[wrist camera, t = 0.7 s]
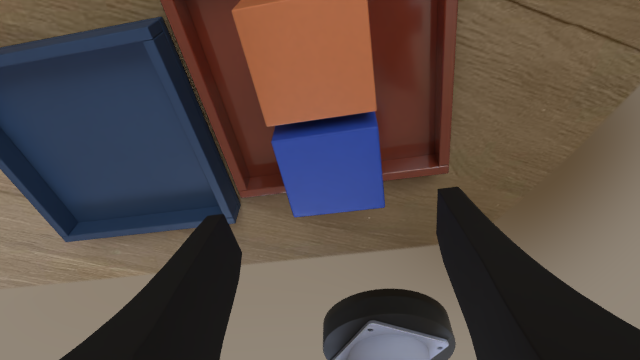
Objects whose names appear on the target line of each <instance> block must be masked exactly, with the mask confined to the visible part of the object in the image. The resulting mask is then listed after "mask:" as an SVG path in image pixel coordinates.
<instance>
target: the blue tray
mask: <svg viewBox="0 0 640 360" xmlns="http://www.w3.org/2000/svg"><path fill="white" fill-rule="evenodd" d="M0 169H1V170H2V171H3V173H4V174H5V175H6V176H7V177H8V178H9V179H10V180H11V181H12V183H13V184H14V185H15V186H16V187H17V188H18V189H19V190H20V191H21V193H22V194H23V195H24V196H25V197H26V198H27V199H28V200H29V202H30V203H31V204H32V205H33V206H34V207H35V208H36V209H37V210H38V212H39V213H40V214H41V215H42V216H43V217H44V218H45V219H46V221H47V222H48V223H49V224H50V225H51V226H52V227H53V228H54V229H55V231H56V232H57V233H58V234H59V235H60V236H61V237H62V238H63V239H64V241H65V242H71V241H80V240H89V239H98V238H107V237H116V236H125V235H134V234H143V233H152V232H161V231H170V230H179V229H188V228H197V227H198V226H199V224H200V223H201V222H202V221H203V220H204V219H205V218H206V217H207V216H209V215H218V214H224V215H225V217H226V220H227V222H228V224H233V223H236V219H237V216H238V212H239V209H240V206H241V204H240V202H239V200H238V197H237V195H236V193H235V190H234V188H233V185H232V183H231V181H230V178H229V176H228V173H227V171H226V169H225V166H224V164H223V161H222V159H221V157H220V154H219V152H218V149H217V147H216V145H215V142H214V140H213V137H212V135H211V133H210V130H209V128H208V125H207V123H206V121H205V118H204V116H203V114H202V111H201V109H200V106H199V104H198V102H197V99H196V97H195V94H194V92H193V90H192V87H191V85H190V82H189V80H188V78H187V75H186V73H185V70H184V68H183V66H182V63H181V61H180V58H179V56H178V54H177V51H176V49H175V46H174V44H173V42H172V39H171V37H170V35H169V32H168V30H167V27H166V25H165V23H164V20H163V18H162V17H156V18H151V19H146V20H141V21H136V22H131V23H125V24H120V25H115V26H110V27H105V28H99V29H94V30H89V31H84V32H79V33H74V34H68V35H63V36H58V37H53V38H48V39H42V40H37V41H32V42H27V43H22V44H17V45H11V46H6V47H1V48H0Z"/></svg>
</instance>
